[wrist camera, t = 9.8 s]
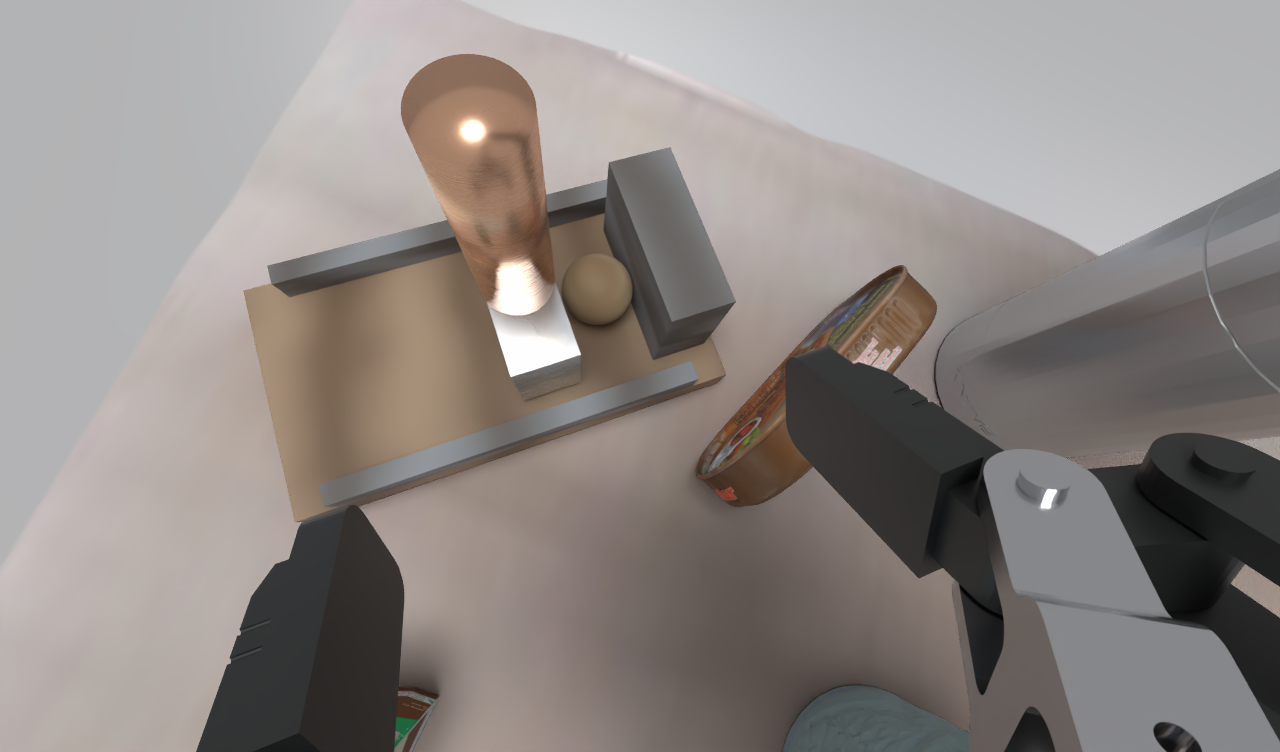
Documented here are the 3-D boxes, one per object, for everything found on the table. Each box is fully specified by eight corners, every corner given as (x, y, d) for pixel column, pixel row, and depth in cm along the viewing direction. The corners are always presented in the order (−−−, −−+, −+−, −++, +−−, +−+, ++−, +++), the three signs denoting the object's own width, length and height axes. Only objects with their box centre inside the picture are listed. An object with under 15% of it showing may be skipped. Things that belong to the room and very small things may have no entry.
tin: (840, 299, 32) (927, 229, 24) (878, 334, 32) (980, 275, 24) (677, 476, 29) (716, 463, 20) (719, 517, 28) (775, 521, 20)
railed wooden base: (644, 204, 32) (665, 109, 25) (716, 382, 30) (763, 339, 22) (266, 305, 28) (148, 229, 21) (316, 521, 26) (204, 527, 18)
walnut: (616, 264, 29) (621, 231, 25) (638, 323, 28) (646, 297, 25) (553, 282, 28) (550, 251, 25) (575, 343, 28) (574, 319, 24)
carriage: (534, 245, 28) (487, -30, 14) (582, 381, 27) (585, 233, 12) (476, 261, 28) (362, -9, 13) (521, 401, 26) (448, 270, 12)
